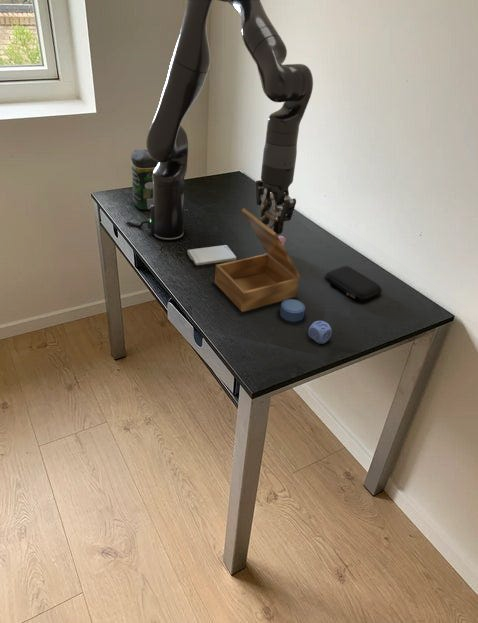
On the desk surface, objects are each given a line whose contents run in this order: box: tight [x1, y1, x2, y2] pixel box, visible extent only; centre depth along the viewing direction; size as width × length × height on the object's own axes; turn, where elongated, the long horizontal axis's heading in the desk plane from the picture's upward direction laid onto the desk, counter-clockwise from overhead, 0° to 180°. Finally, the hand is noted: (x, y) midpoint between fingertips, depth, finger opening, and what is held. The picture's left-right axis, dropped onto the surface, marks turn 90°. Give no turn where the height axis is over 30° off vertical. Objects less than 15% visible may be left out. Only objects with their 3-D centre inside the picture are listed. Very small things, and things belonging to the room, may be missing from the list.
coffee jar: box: [130, 148, 159, 211], centre depth 162 cm, size 10×8×19 cm
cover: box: [241, 207, 301, 279], centre depth 123 cm, size 17×15×5 cm
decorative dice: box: [307, 320, 333, 345], centre depth 114 cm, size 4×4×4 cm
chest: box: [214, 253, 300, 313], centre depth 128 cm, size 17×15×6 cm
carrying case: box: [325, 265, 383, 302], centre depth 134 cm, size 11×3×15 cm
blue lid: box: [279, 298, 306, 323], centre depth 121 cm, size 6×6×4 cm
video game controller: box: [264, 234, 287, 254], centre depth 145 cm, size 10×5×7 cm, turn 168°
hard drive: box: [186, 244, 238, 266], centre depth 142 cm, size 2×8×12 cm
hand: (271, 228), depth 120 cm, fingers closed on cover, 5 cm apart
